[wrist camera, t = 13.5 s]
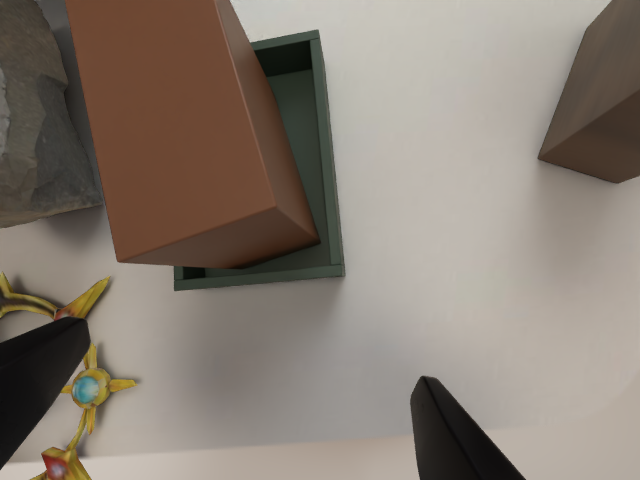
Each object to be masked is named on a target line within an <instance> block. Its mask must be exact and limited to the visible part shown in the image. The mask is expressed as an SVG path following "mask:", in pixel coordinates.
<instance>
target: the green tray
mask: <svg viewBox="0 0 640 480" xmlns="http://www.w3.org/2000/svg"><path fill="white" fill-rule="evenodd" d="M250 44H251V46H252V48H253V50H254V52H255V55H256V57H257V59H258V61H259V63H260V65H261V67H262V69H263V71H264V73H265V75H266V78H267V80H268V82H269V84H270V86H271V88H272V90H273V92H274V95H275V98H276V101H277V105H278V108H279V111H280V114H281V117H282V120H283V124H284V127H285V130H286V133H287V136H288V139H289V143H290V146H291V149H292V152H293V155H294V158H295V161H296V165H297V168H298V171H299V174H300V177H301V180H302V184H303V187H304V190H305V193H306V196H307V199H308V203H309V206H310V209H311V212H312V215H313V218H314V222H315V225H316V228H317V231H318V234H319V237H320V240H321V243H320V244H318V245H315V246H312V247H309V248H306V249H303V250H300V251H297V252H294V253H291V254H288V255H285V256H282V257H279V258H276V259H273V260H270V261H267V262H264V263H261V264H258V265H255V266H252V267H249V268H246V269H243V270H238V269H221V268H204V267H187V266H174V280H175V281H174V291H181V290H194V289H206V288H217V287H229V286H240V285H251V284H262V283H273V282H284V281H295V280H306V279H317V278H328V277H339V276H345V266H344V256H343V246H342V236H341V226H340V215H339V205H338V195H337V185H336V175H335V165H334V155H333V145H332V135H331V125H330V115H329V105H328V95H327V84H326V74H325V64H324V58H323V52H322V47H321V41H320V35H319V30H313V31H308V32H303V33H297V34H292V35H287V36H282V37H277V38H272V39H267V40H262V41H257V42H251V43H250Z"/></svg>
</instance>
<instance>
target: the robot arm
mask: <svg viewBox="0 0 640 480" xmlns="http://www.w3.org/2000/svg"><path fill="white" fill-rule="evenodd" d="M90 343H91V340H90V334H89V329H88V323H87V321H86V320H85V319H84V318H79V317H73V316H66V317H63V318H61V319H58V320H56V321H53V322H51V323H48V324H46V325H44V326H41V327H39V328H36V329H34V330H31V331H29V332H26V333H24V334H21V335H19V336H17V337H14V338H12V339H9V340H7V341H4V342H2V343H0V470H1V469H2V467H3V466H4V465H5V464H6V462H7V461H8V460H9V459H10V457H11V456H12V455H13V454H14V452H15V451H16V450H17V449H18V447H19V446H20V445H21V444H22V442H23V441H24V440H25V439H26V437H27V436H28V435H29V434H30V432H31V431H32V430H33V429H34V427H35V426H36V425H37V424H38V422H39V421H40V420H41V419H42V417H43V416H44V415H45V413H46V412H47V411H48V410H49V408H50V407H51V405H52V404H53V403H54V401H55V400H56V398H57V397H58V395H59V394H60V392H61V391H62V389H63V388H64V386H65V385H66V383H67V382H68V380H69V379H70V377H71V376H72V374H73V373H74V371H75V370H76V368H77V367H78V365H79V364H80V362H81V361H82V359H83V358H84V356H85V355H86V353H87V352H88V350H89V347H90ZM410 405H411V414H412V424H413V433H414V442H415V451H416V459H417V466H418V472H419V477H420V480H526V479H525V478H524V477H523V476H522V475H521V473H520V472H519V471H518V470H517V469H516V468H515V467H514V465H512V463H511V462H510V461H509V460H508V459H507V457H506V456H505V455H504V454H503V453H502V452H501V451H500V449H499V448H498V447H497V446H496V445H495V444H494V443H493V442H492V440H491V439H490V438H489V437H488V436H487V435H486V434H485V432H484V431H483V430H482V429H481V428H480V427H479V426H478V424H477V423H476V422H475V421H474V420H473V419H472V418H471V416H470V415H469V414H468V413H467V412H466V411H465V410H464V408H463V407H462V406H461V405H460V404H459V403H458V402H457V400H456V399H455V398H454V397H453V396H452V395H451V394H450V393H449V391H448V390H447V389H446V388H445V387H444V386H443V385H442V383H441V382H440V381H439V380H438V379H437V378H434V377H429V376H421V377H420V378H419V380H418V382H417V384H416V386H415V388H414V390H413V392H412V394H411V399H410Z"/></svg>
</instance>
